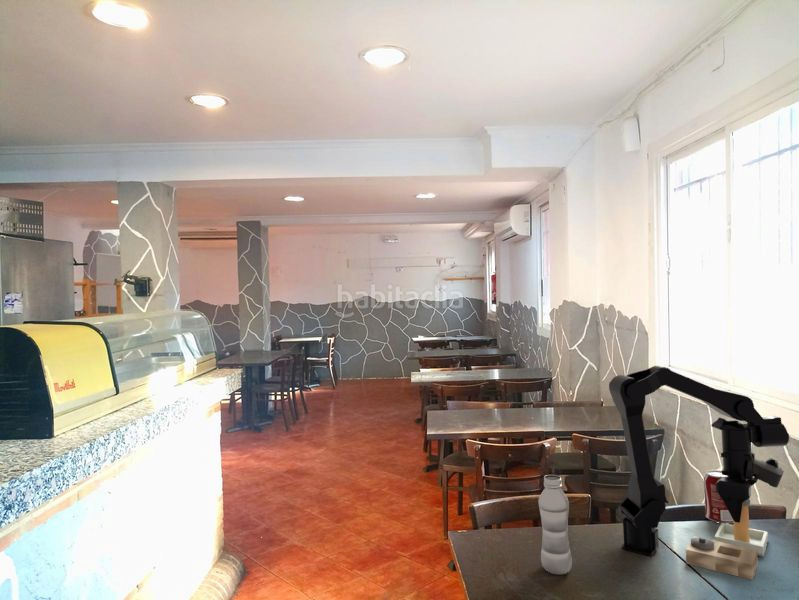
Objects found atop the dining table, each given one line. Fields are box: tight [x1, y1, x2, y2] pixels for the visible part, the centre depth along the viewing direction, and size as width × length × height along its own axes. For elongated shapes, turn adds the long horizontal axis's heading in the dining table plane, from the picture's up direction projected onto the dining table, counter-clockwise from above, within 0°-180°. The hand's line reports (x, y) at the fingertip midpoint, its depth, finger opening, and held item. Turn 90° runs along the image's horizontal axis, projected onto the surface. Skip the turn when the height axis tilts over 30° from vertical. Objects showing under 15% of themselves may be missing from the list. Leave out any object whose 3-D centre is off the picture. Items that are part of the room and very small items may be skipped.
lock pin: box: [733, 498, 751, 543], centre depth 121 cm, size 4×4×10 cm
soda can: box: [703, 469, 734, 524], centre depth 134 cm, size 7×7×12 cm
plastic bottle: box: [537, 474, 573, 576], centre depth 113 cm, size 6×7×20 cm
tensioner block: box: [685, 535, 759, 581], centre depth 113 cm, size 12×8×4 cm, turn 50°
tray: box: [714, 523, 769, 557], centre depth 121 cm, size 9×9×2 cm
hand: (740, 515), depth 121 cm, fingers open, 9 cm apart
